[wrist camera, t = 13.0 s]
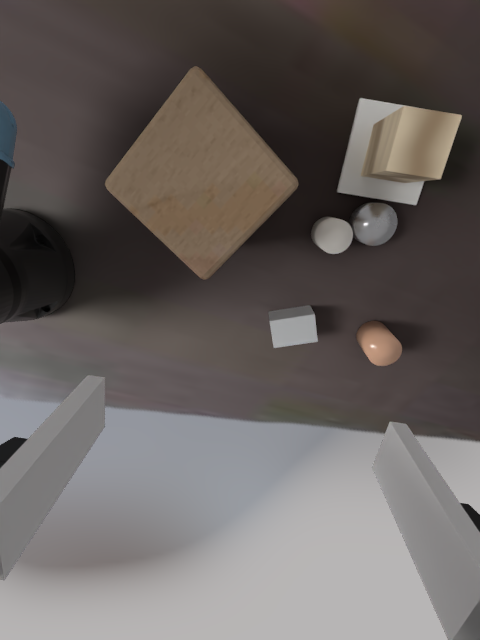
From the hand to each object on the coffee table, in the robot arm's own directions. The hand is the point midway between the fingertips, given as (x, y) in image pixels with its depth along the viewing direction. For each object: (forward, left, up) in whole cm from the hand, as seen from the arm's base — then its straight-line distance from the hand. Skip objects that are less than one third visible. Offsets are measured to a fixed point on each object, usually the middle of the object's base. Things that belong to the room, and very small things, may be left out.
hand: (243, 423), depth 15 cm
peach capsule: (+19, -6, -32) cm, 37 cm away
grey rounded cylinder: (+9, +7, -32) cm, 34 cm away
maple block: (+14, +17, -31) cm, 38 cm away
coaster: (+14, +17, -32) cm, 39 cm away
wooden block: (-5, +10, -32) cm, 34 cm away
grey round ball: (+14, +9, -32) cm, 36 cm away
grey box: (+7, -6, -32) cm, 33 cm away
